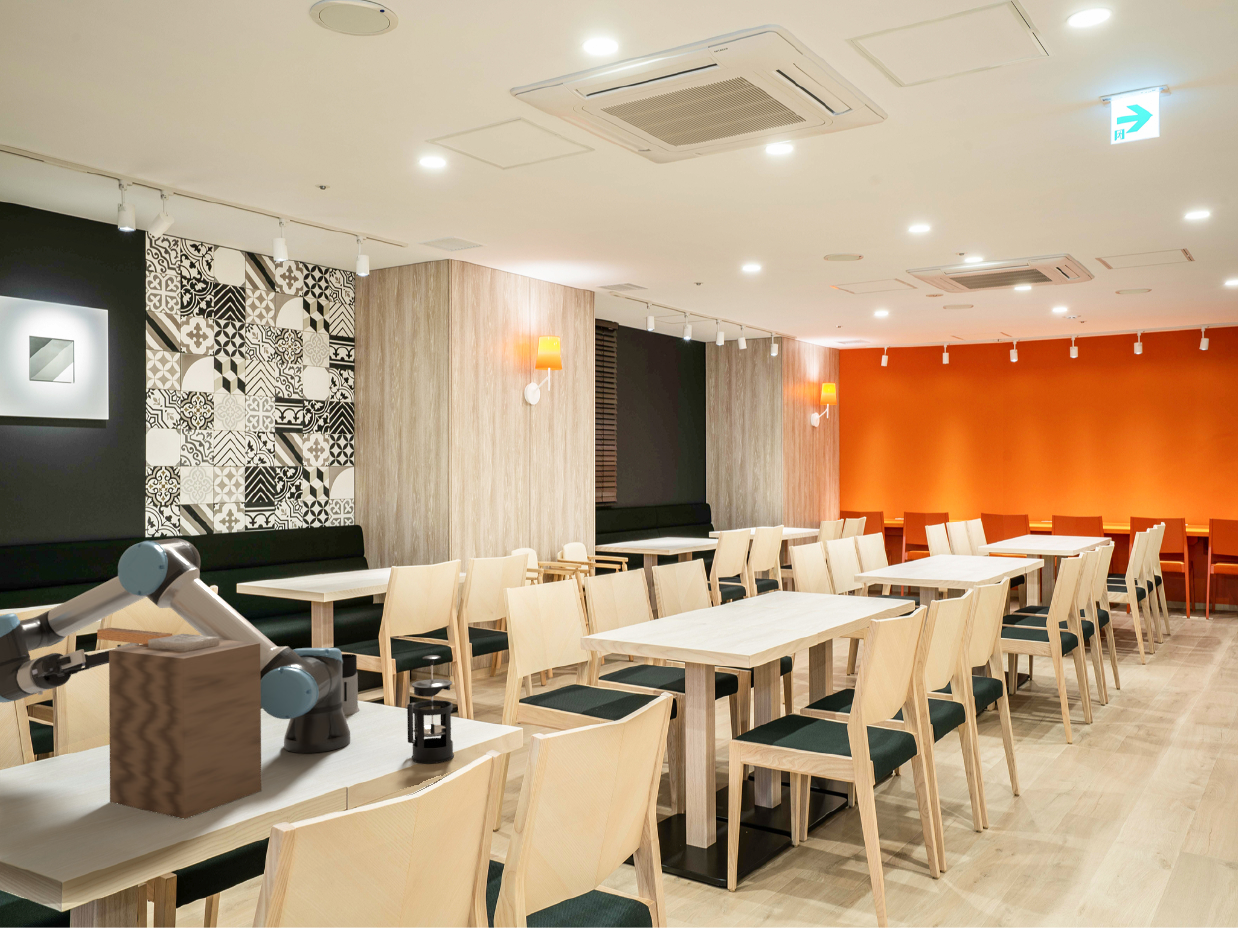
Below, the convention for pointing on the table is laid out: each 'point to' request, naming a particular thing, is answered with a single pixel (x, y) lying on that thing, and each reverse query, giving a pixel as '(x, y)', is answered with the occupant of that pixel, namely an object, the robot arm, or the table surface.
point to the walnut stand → (184, 727)
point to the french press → (432, 747)
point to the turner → (158, 639)
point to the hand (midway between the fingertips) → (111, 650)
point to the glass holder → (349, 684)
